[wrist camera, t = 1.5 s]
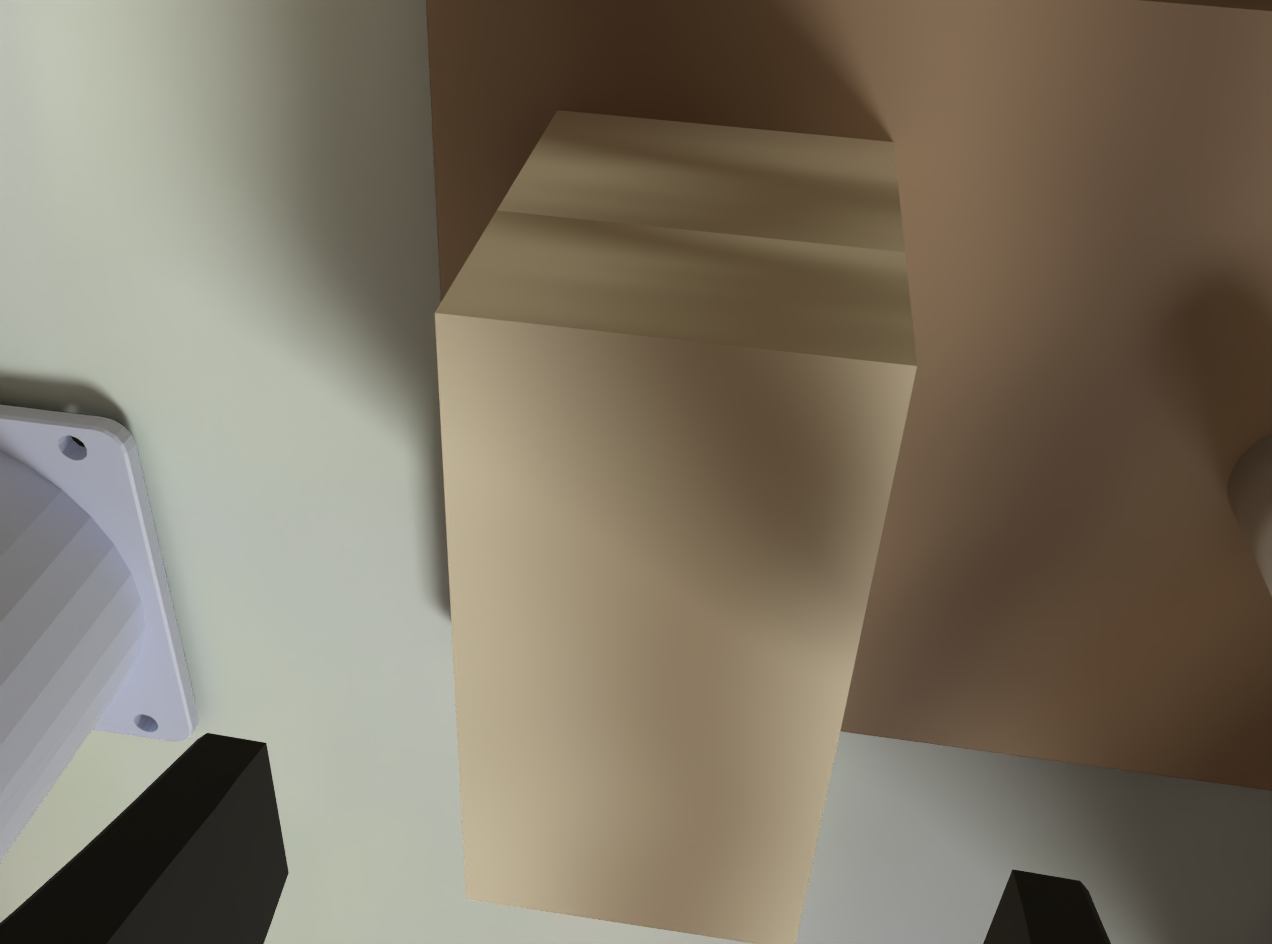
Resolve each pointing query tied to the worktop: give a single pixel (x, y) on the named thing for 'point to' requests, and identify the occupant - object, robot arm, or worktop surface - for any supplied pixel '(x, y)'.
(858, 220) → the block
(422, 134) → the worktop surface
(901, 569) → the base
